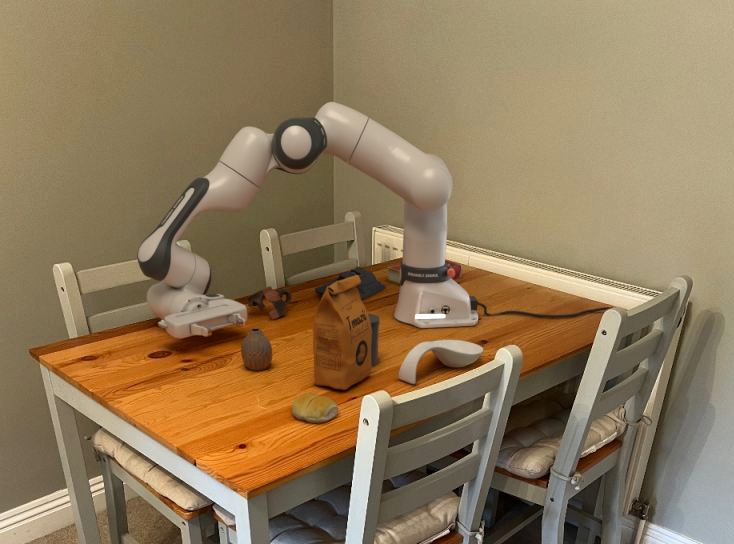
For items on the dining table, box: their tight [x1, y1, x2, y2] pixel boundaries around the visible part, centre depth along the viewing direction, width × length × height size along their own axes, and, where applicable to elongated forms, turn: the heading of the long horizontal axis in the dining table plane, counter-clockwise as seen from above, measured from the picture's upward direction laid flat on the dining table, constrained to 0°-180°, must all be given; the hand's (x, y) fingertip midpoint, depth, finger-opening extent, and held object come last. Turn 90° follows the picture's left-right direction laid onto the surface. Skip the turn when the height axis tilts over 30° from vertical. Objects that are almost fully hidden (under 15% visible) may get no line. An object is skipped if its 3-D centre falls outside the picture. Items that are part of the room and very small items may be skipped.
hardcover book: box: [385, 259, 463, 286], centre depth 229 cm, size 12×21×4 cm, turn 130°
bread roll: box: [291, 392, 339, 424], centre depth 146 cm, size 8×9×4 cm
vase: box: [240, 327, 273, 371], centre depth 165 cm, size 7×7×9 cm
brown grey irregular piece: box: [247, 285, 293, 321], centre depth 198 cm, size 12×10×8 cm
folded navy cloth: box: [314, 266, 386, 300], centre depth 217 cm, size 15×22×5 cm
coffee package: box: [312, 275, 373, 391], centre depth 156 cm, size 10×12×22 cm
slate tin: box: [367, 312, 381, 367], centre depth 169 cm, size 7×7×10 cm
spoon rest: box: [397, 339, 484, 385], centre depth 166 cm, size 24×12×7 cm, turn 137°
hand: (226, 328), depth 171 cm, fingers open, 8 cm apart
